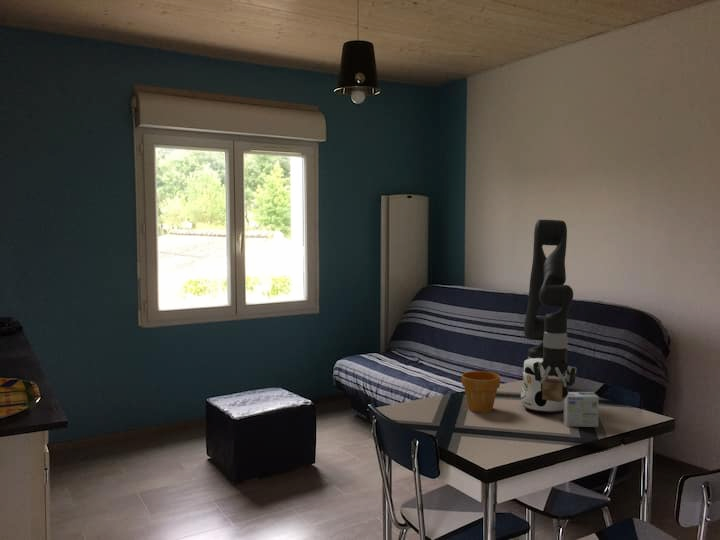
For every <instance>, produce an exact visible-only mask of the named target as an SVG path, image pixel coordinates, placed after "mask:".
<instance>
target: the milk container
mask: <svg viewBox="0 0 720 540" xmlns="http://www.w3.org/2000/svg"><path fill="white" fill-rule="evenodd" d="M535 362H543V358H533V359H528V358H527V359H525V360H524V361H523V372H522V373H523V377H522V378H523V380H522V381H523V383H522V387H521V390H520V391H521V392H520V400H521V401H520V402H521V405H522V406H523V407H524V408H525V409H527V410H529V411H531V412H537V413H540V414H541V413H543V414H554V413H555V414H557V413H561V412H564V400H563V401H562V402H556V401H550V400H543V399H542V392H541V383H540V382H539V381H536V380H535V374H534V366H533V364H534V363H535ZM567 371H568V369H567V370H566V371H565V374H566V376H568V375H567ZM540 373H541V377H543V375H544V373H545V370H544V368H543V367H542V366H541V368H540ZM563 375H564V374H563ZM549 378H556V379H560V378H559V377H556V376H549Z"/></svg>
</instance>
